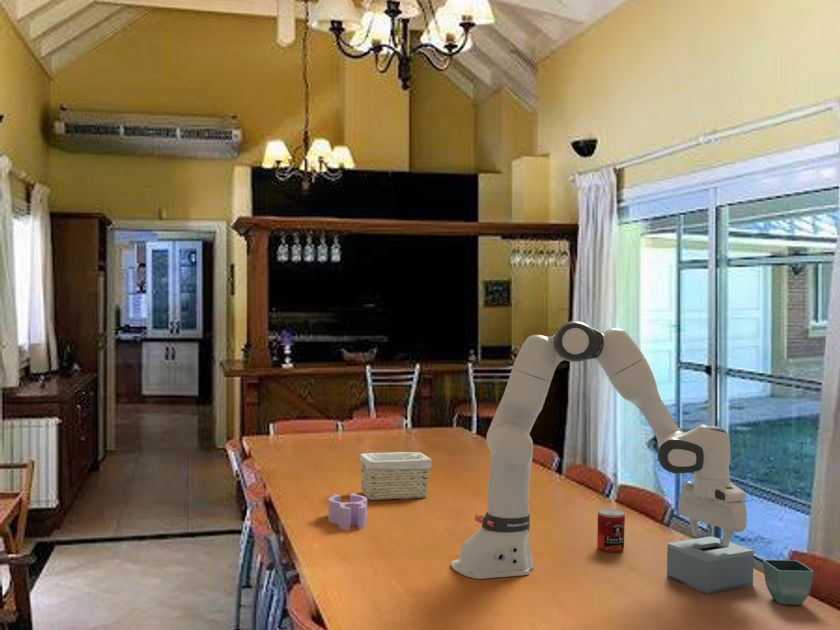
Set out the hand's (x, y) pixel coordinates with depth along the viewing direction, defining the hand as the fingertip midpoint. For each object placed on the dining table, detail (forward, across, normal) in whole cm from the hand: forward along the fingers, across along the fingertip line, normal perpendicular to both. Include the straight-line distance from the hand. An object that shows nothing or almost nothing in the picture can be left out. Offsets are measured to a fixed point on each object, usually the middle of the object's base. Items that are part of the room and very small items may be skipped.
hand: (710, 540), depth 220 cm
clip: (+11, -92, -63) cm, 112 cm away
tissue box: (+11, 0, 0) cm, 11 cm away
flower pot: (+11, +19, +6) cm, 23 cm away
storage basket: (+11, -119, -34) cm, 124 cm away
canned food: (+11, -33, -5) cm, 35 cm away
